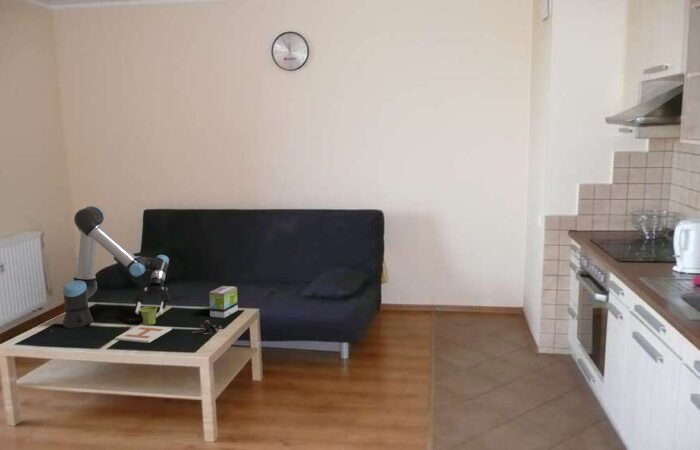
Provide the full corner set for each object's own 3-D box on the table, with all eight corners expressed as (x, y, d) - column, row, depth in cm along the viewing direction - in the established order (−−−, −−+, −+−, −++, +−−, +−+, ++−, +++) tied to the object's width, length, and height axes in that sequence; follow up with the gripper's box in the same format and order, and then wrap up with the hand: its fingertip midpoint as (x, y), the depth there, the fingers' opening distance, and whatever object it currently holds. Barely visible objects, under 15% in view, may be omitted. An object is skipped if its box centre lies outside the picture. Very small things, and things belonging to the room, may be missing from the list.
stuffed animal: (226, 327, 304) (210, 320, 295) (218, 344, 301) (202, 338, 292) (212, 323, 311) (196, 315, 302) (204, 340, 308) (188, 333, 299)
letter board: (115, 339, 292) (115, 337, 292) (139, 326, 311) (139, 325, 310) (148, 342, 286) (148, 340, 286) (171, 329, 305) (171, 327, 305)
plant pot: (152, 326, 310) (151, 311, 309) (137, 326, 312) (136, 310, 311) (161, 321, 319) (160, 306, 318) (146, 320, 321) (145, 305, 320)
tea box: (225, 318, 322) (223, 293, 320) (209, 316, 325) (208, 291, 323) (238, 310, 336) (237, 286, 334) (223, 309, 339) (222, 285, 337)
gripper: (134, 276, 325) (124, 310, 312) (176, 276, 323) (168, 309, 310) (138, 283, 331) (129, 316, 318) (180, 283, 329) (172, 316, 317)
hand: (148, 313), depth 314 cm, fingers open, 13 cm apart
